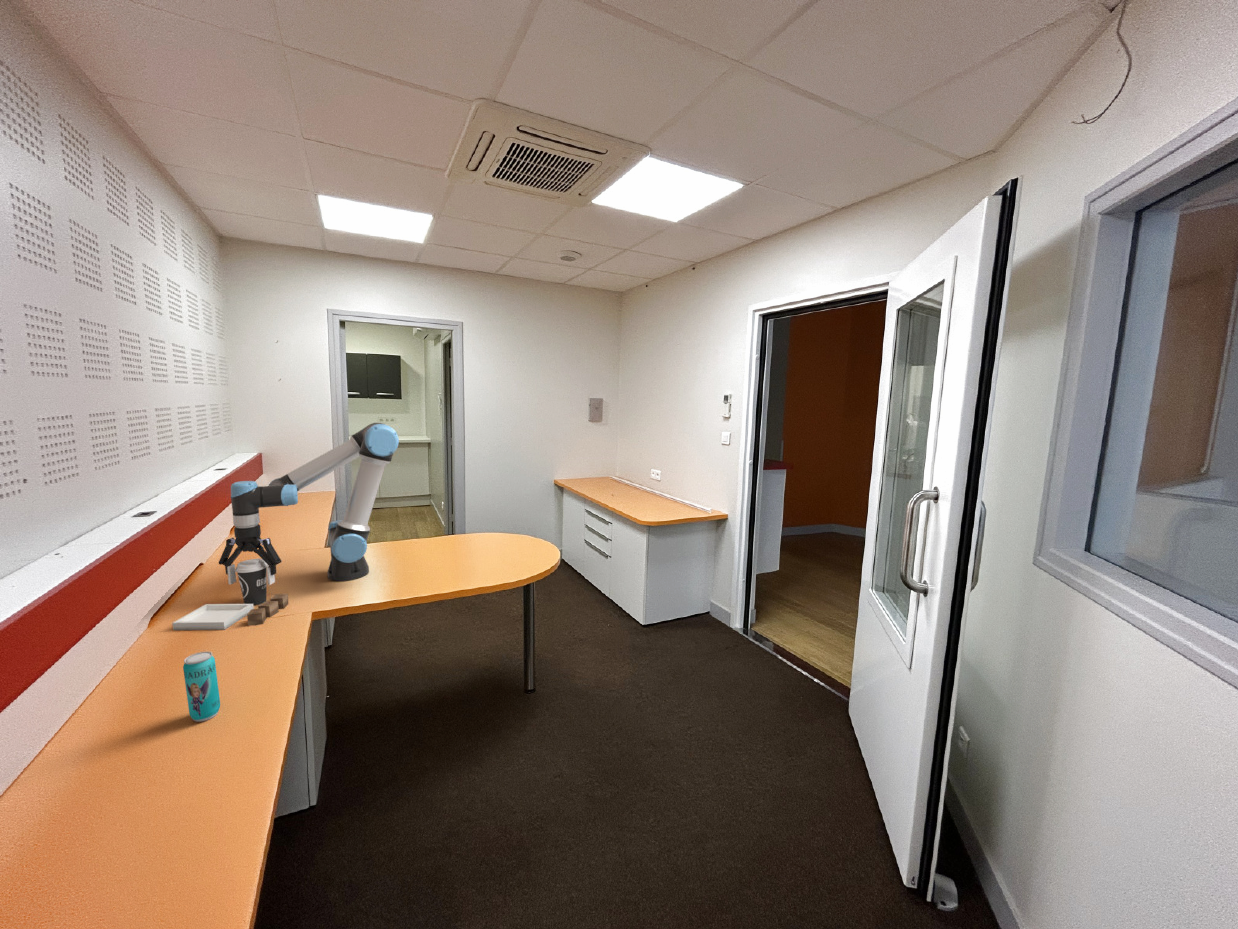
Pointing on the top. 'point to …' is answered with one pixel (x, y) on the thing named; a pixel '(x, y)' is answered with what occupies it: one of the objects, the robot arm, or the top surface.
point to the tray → (213, 617)
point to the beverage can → (201, 686)
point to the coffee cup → (253, 580)
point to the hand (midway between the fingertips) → (252, 583)
